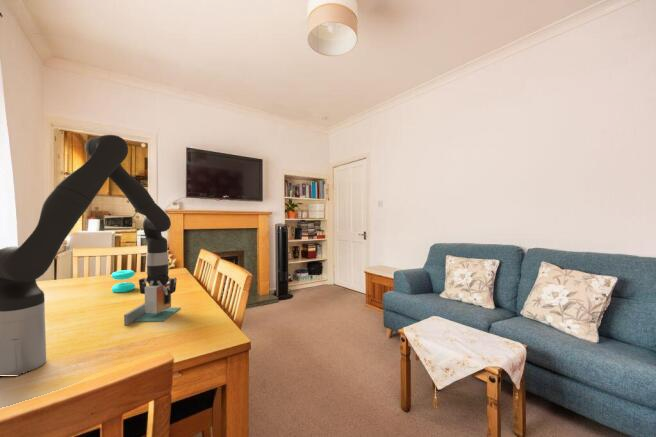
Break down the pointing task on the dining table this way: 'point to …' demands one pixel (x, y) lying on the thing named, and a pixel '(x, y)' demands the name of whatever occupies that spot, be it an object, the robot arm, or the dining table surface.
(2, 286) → the robot arm
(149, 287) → the small box
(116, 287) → the donuts
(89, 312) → the dining table surface
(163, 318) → the mat
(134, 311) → the divider wall
